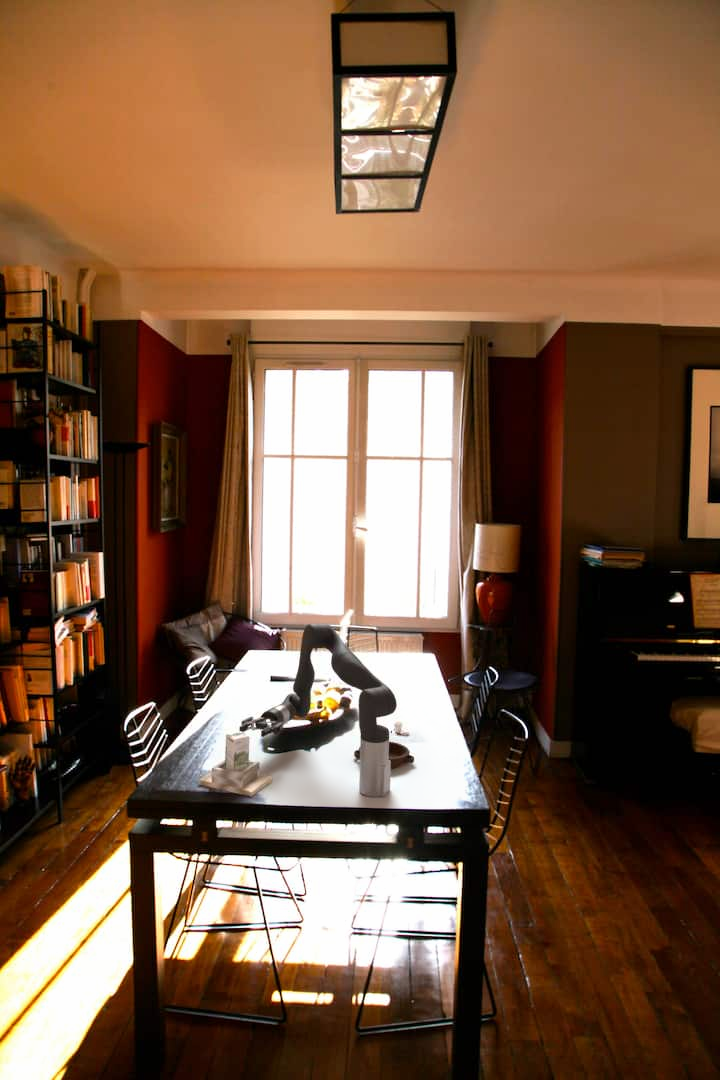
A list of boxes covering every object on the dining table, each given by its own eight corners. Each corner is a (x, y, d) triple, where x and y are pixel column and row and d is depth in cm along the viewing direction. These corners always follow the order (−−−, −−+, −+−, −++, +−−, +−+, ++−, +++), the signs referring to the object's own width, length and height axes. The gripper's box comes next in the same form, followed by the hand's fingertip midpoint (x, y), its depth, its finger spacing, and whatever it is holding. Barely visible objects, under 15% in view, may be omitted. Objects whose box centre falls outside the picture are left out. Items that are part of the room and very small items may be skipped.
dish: (411, 776, 205) (412, 761, 205) (348, 769, 209) (349, 755, 209) (416, 756, 222) (416, 743, 222) (358, 751, 226) (358, 738, 226)
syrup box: (239, 773, 200) (240, 730, 200) (248, 779, 196) (249, 735, 195) (224, 777, 197) (225, 733, 196) (233, 783, 192) (234, 739, 192)
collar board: (271, 781, 198) (272, 763, 198) (251, 796, 187) (252, 777, 187) (221, 770, 206) (221, 753, 205) (199, 784, 194) (199, 766, 194)
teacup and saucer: (411, 736, 244) (411, 726, 244) (392, 737, 242) (392, 727, 242) (405, 729, 252) (405, 719, 252) (386, 730, 250) (387, 720, 250)
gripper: (258, 705, 221) (233, 718, 206) (292, 710, 216) (269, 724, 201) (258, 725, 222) (233, 739, 207) (292, 731, 216) (269, 746, 201)
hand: (251, 732), depth 204 cm, fingers open, 8 cm apart
